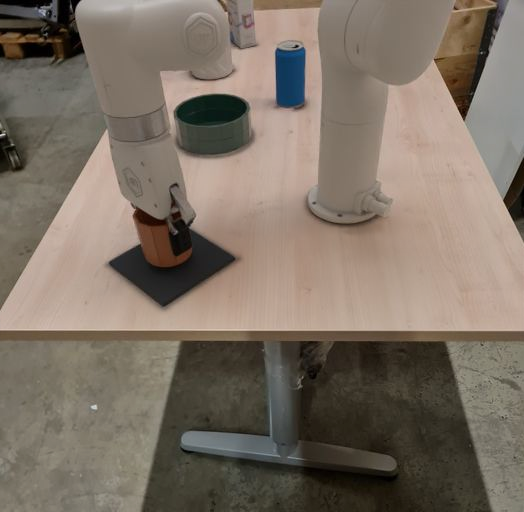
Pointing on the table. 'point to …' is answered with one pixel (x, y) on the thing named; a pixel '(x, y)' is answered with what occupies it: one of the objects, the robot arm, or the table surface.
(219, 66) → the mug
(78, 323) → the table surface
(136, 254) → the rubber mat
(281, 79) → the beverage can
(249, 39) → the ink box
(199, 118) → the green pot
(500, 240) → the table surface
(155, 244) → the copper pot
